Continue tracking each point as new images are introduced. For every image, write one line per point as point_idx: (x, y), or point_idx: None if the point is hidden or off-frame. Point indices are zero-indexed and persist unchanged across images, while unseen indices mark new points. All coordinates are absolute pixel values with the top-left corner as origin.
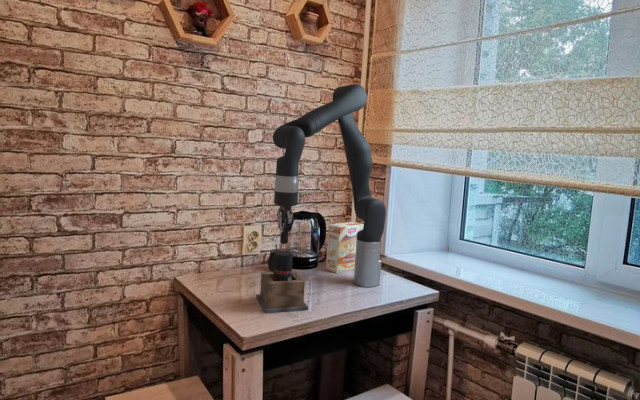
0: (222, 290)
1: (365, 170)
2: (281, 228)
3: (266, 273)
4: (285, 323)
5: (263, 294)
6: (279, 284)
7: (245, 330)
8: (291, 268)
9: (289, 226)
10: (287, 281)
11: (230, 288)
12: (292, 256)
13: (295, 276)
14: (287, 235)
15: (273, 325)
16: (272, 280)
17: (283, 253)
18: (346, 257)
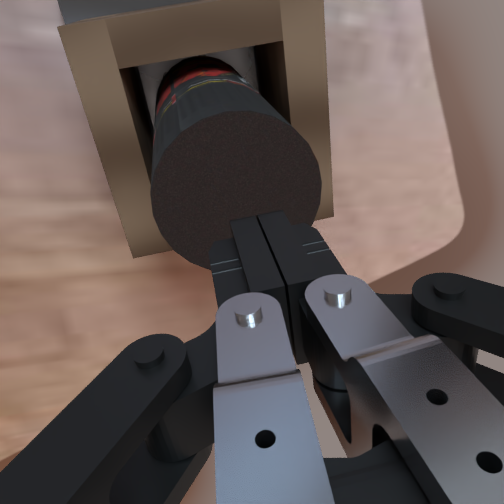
0: (56, 341)
1: None
2: (345, 409)
3: (148, 230)
4: (416, 98)
5: None
6: (329, 157)
7: (432, 235)
8: (252, 91)
9: None
10: (304, 109)
11: (23, 318)
12: (251, 105)
13: (202, 40)
14: (341, 267)
15: (421, 146)
16: None
17: (253, 199)
18: None
